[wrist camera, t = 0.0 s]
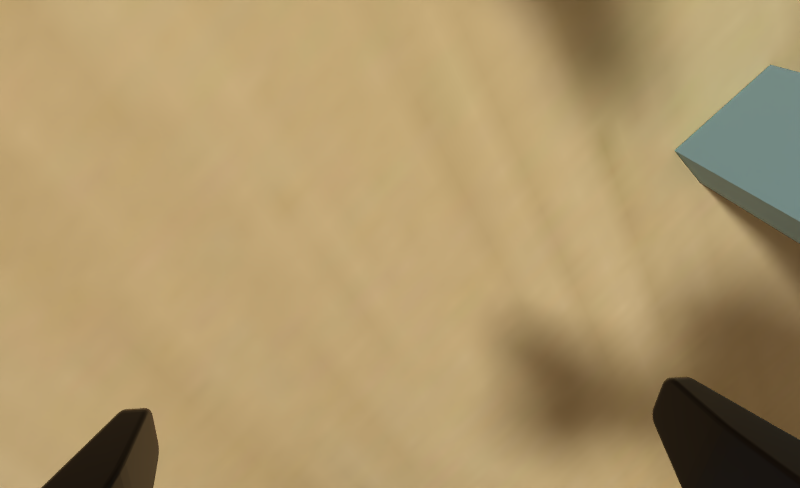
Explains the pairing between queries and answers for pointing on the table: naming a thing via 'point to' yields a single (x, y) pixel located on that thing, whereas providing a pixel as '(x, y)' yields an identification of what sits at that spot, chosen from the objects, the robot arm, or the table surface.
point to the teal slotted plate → (754, 150)
